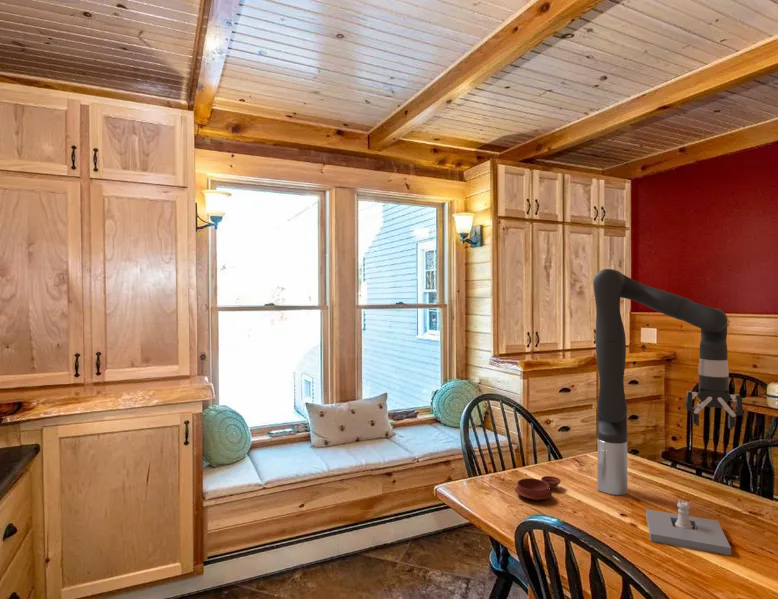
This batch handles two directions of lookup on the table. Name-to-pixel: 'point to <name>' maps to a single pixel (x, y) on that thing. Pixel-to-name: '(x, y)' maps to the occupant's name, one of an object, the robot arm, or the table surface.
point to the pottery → (537, 487)
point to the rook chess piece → (683, 516)
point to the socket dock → (687, 532)
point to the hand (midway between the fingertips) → (713, 426)
